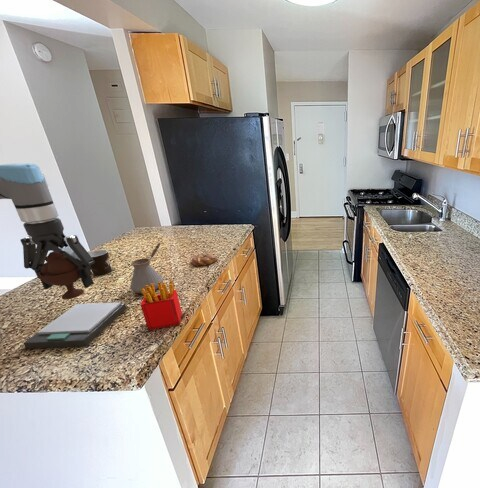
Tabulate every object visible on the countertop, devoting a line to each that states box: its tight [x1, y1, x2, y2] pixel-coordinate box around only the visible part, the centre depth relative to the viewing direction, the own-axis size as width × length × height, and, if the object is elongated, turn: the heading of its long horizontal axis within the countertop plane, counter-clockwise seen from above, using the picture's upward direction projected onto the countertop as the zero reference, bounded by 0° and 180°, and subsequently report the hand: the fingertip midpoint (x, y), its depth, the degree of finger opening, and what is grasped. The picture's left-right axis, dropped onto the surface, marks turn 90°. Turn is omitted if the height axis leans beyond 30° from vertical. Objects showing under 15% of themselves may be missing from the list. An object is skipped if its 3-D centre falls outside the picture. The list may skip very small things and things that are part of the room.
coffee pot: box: [129, 242, 164, 295], centre depth 110 cm, size 21×12×15 cm, turn 3°
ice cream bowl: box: [36, 251, 85, 300], centre depth 81 cm, size 11×11×15 cm
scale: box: [22, 301, 127, 350], centre depth 86 cm, size 17×19×3 cm
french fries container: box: [140, 280, 183, 331], centre depth 86 cm, size 7×9×14 cm
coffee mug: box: [88, 249, 112, 277], centre depth 118 cm, size 12×9×10 cm
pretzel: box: [191, 253, 218, 267], centre depth 132 cm, size 12×11×4 cm
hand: (69, 286), depth 82 cm, fingers closed on ice cream bowl, 11 cm apart
